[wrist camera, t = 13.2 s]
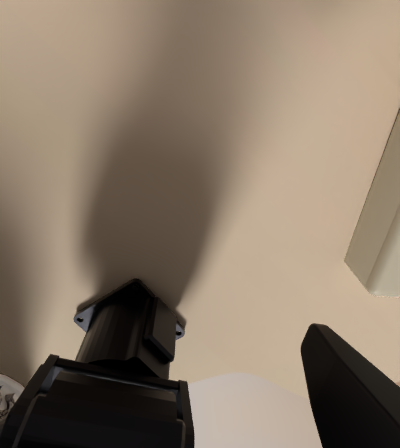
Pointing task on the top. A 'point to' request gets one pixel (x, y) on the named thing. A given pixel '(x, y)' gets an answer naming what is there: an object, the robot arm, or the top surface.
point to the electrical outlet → (380, 227)
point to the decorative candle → (8, 394)
